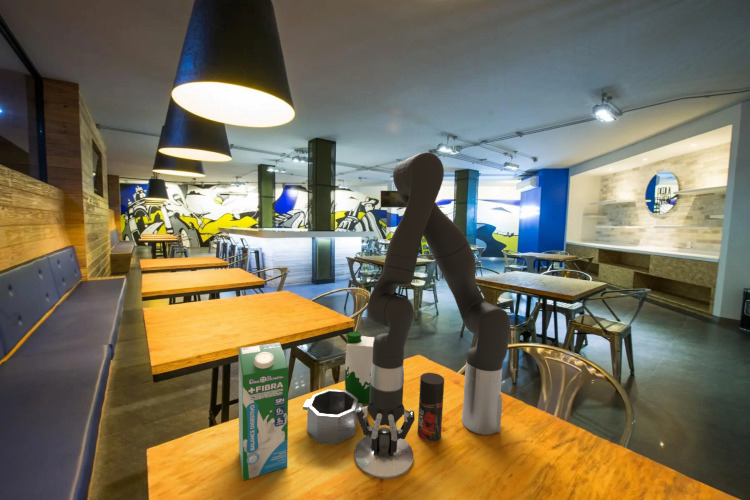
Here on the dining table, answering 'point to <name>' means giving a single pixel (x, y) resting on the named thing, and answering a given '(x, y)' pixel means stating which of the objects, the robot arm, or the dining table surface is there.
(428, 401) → the deodorant
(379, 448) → the lid
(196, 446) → the dining table surface
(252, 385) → the milk carton
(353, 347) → the soya milk
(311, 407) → the pot
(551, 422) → the dining table surface
